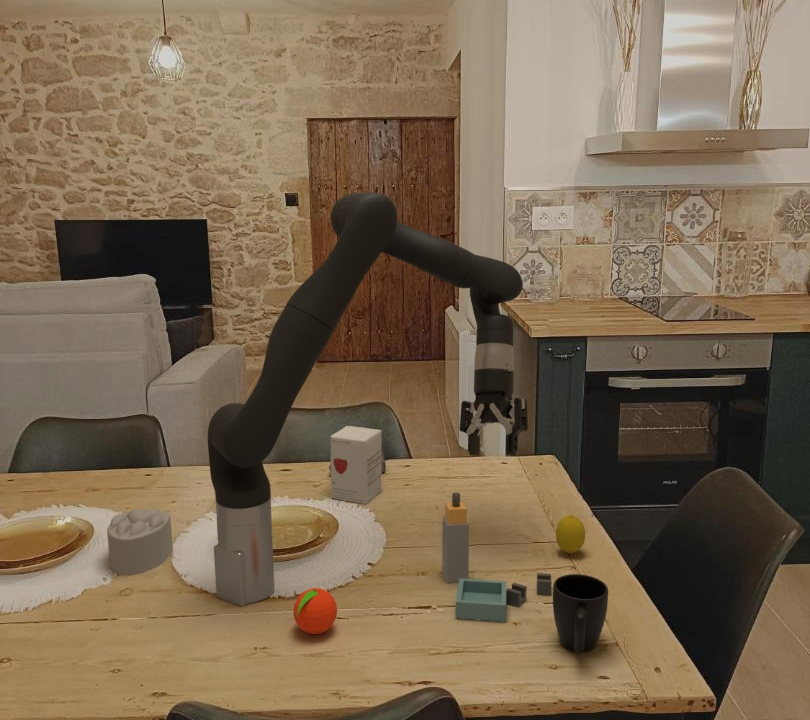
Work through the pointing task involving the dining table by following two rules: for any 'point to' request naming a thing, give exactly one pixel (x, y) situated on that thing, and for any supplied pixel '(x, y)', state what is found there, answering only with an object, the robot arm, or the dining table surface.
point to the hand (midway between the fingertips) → (492, 455)
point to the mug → (579, 610)
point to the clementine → (315, 611)
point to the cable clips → (519, 591)
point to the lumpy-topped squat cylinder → (139, 541)
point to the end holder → (481, 599)
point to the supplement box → (356, 464)
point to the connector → (455, 541)
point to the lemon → (570, 534)
